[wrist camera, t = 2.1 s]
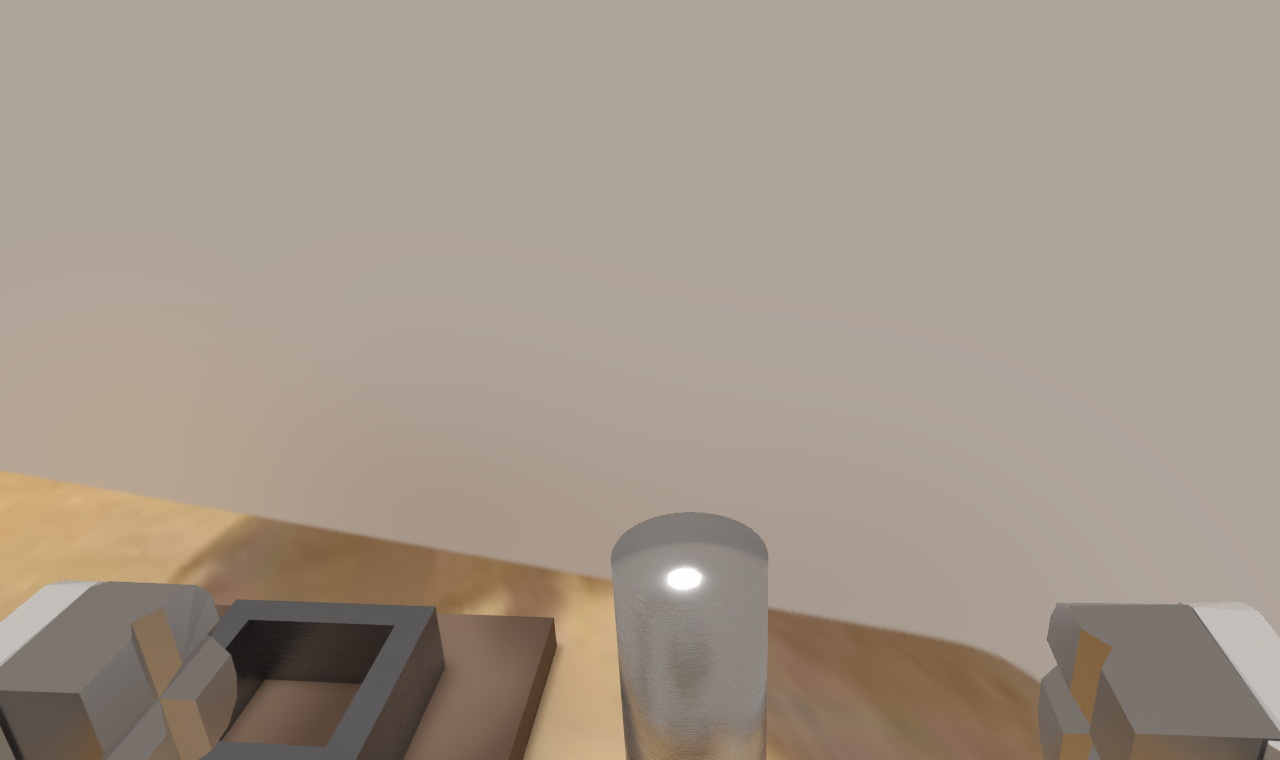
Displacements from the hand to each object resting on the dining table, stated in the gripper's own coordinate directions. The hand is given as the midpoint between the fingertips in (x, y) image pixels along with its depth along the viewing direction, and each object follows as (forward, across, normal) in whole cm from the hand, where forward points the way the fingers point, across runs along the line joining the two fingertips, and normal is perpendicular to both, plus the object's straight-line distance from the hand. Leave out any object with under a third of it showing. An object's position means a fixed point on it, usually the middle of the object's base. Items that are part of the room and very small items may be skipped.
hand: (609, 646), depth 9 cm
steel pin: (+12, +1, +20) cm, 24 cm away
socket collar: (+16, +16, +19) cm, 29 cm away
